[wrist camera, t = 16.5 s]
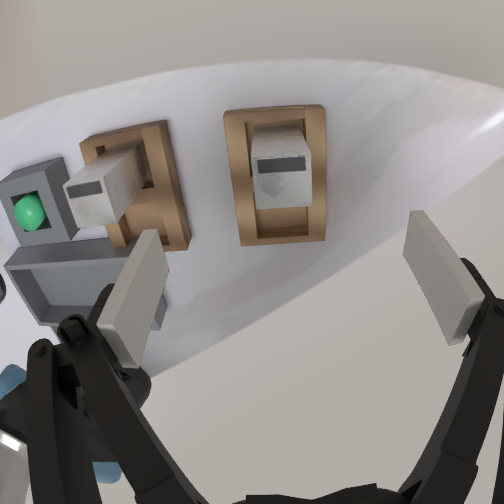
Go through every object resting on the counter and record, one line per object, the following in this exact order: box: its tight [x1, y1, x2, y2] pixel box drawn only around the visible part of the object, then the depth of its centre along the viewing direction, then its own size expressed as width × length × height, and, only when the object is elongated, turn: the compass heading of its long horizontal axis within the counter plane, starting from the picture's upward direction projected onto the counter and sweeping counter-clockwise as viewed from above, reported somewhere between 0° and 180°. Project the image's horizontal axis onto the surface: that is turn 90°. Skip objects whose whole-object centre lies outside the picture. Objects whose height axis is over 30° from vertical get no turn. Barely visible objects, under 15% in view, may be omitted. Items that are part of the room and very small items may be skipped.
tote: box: [4, 237, 167, 330], centre depth 40 cm, size 12×22×4 cm, turn 96°
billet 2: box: [251, 121, 312, 210], centre depth 26 cm, size 4×4×10 cm
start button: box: [14, 190, 47, 231], centre depth 31 cm, size 4×4×3 cm
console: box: [0, 157, 80, 247], centre depth 32 cm, size 9×9×4 cm
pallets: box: [79, 105, 326, 252], centre depth 32 cm, size 14×24×2 cm, turn 96°
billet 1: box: [63, 139, 152, 228], centre depth 27 cm, size 4×4×10 cm
